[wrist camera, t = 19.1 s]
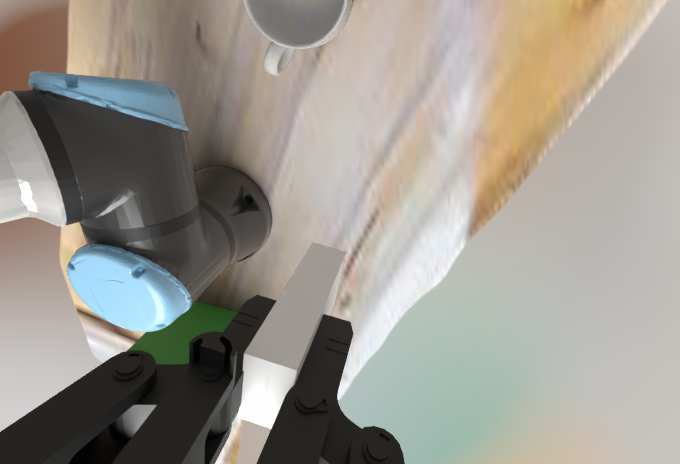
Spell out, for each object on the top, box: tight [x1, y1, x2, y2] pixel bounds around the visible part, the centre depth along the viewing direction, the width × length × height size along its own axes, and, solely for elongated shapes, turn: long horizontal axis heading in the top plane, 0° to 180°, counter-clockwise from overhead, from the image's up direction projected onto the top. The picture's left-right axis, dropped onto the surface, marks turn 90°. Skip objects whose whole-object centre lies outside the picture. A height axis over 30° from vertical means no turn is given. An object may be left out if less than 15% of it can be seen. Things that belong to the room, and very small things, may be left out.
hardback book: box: [128, 301, 239, 422], centre depth 57 cm, size 18×7×24 cm, turn 82°
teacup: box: [243, 0, 353, 76], centre depth 39 cm, size 14×11×8 cm
